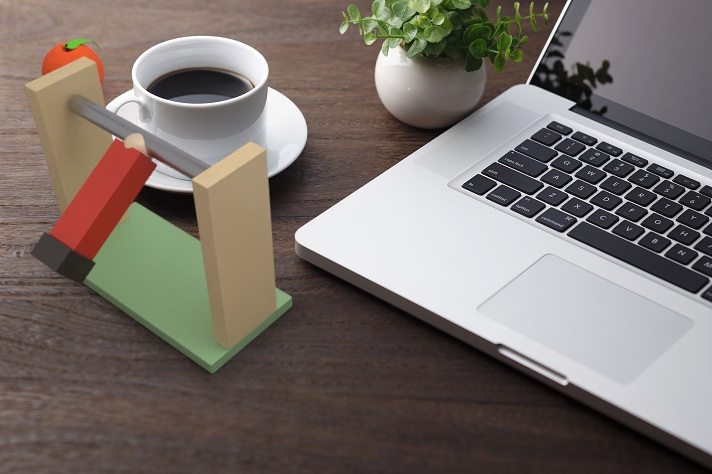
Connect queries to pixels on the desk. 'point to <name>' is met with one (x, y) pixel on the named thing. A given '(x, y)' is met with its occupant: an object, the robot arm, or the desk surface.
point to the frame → (171, 234)
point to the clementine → (70, 56)
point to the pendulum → (107, 190)
